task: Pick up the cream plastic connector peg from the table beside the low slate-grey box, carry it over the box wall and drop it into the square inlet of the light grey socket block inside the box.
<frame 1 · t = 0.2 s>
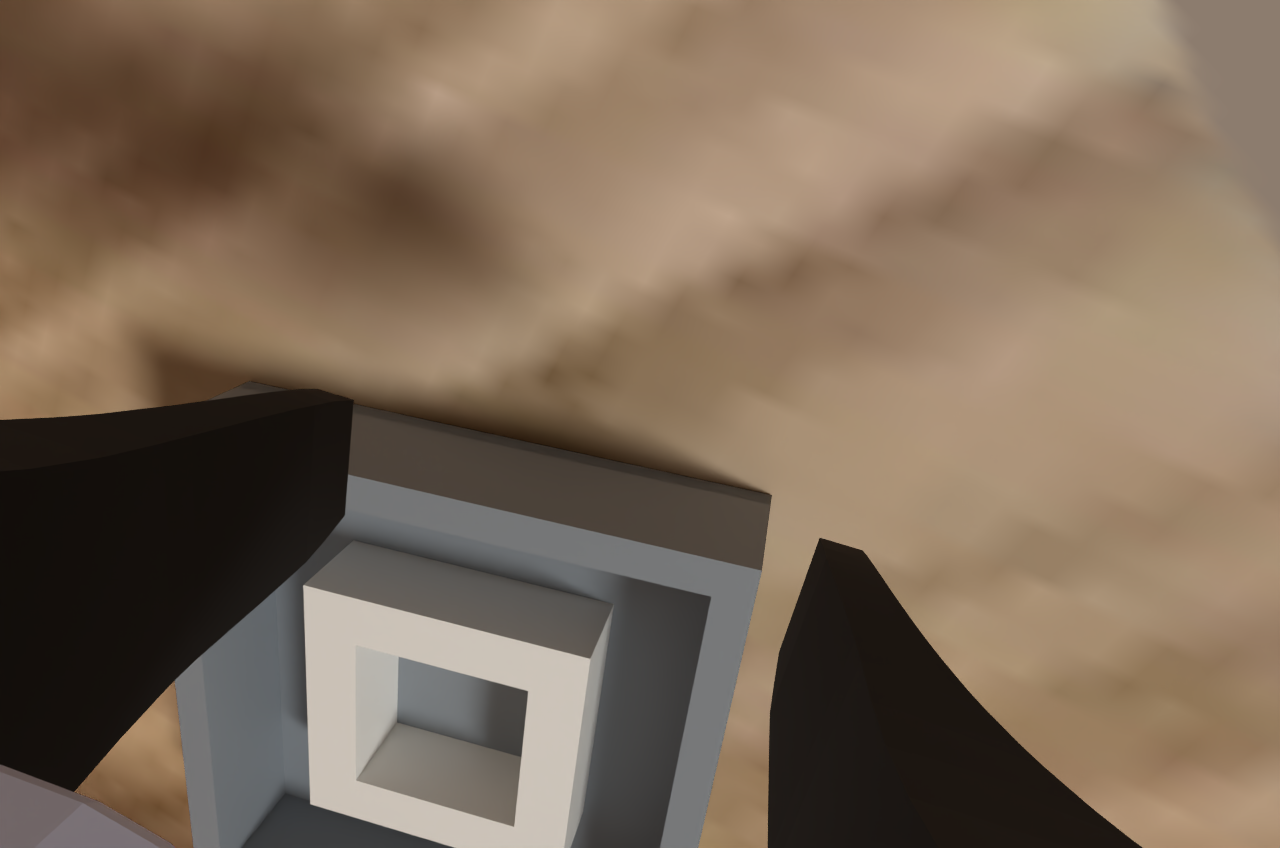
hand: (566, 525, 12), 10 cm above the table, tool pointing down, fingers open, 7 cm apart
walled box: (480, 669, 26), on the table
inlet socket: (455, 708, 24), in the walled box, point 1 cm above the table
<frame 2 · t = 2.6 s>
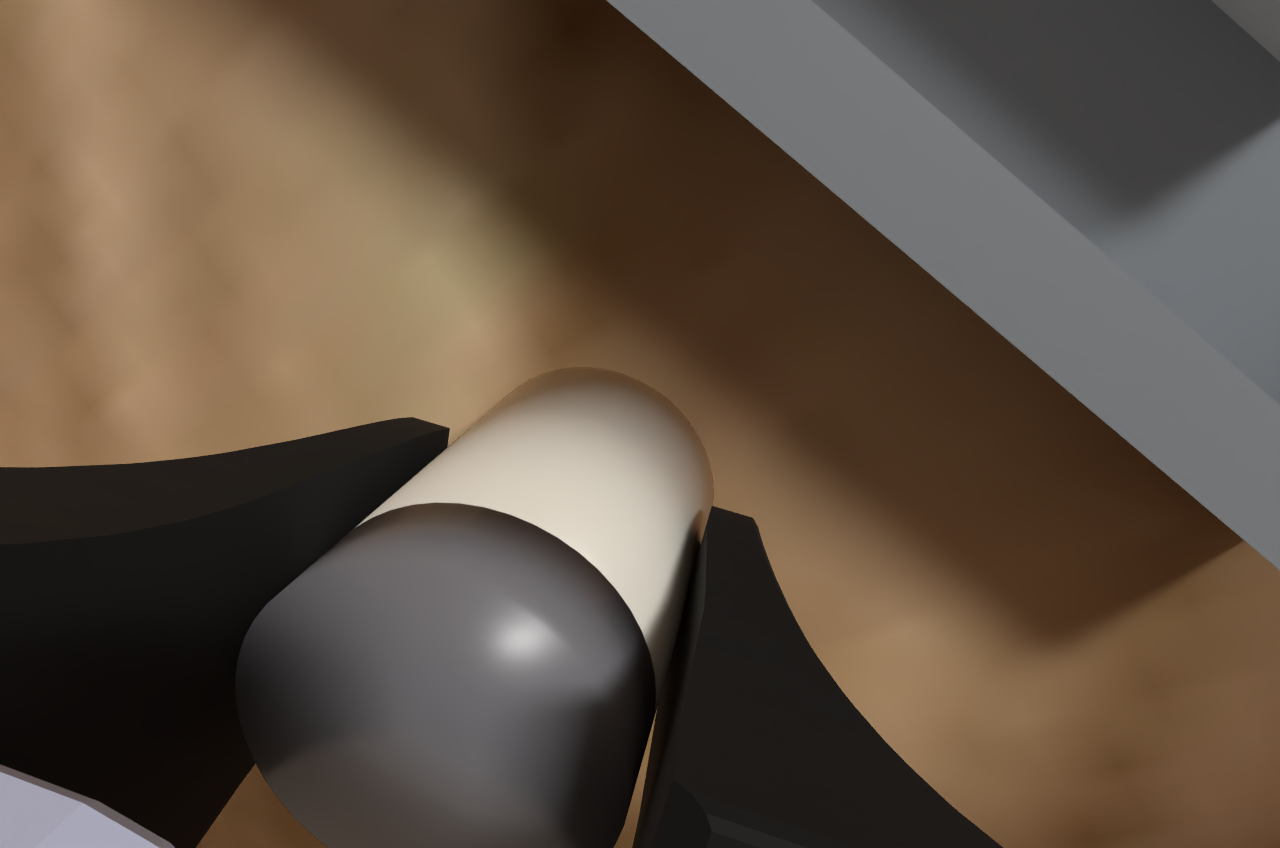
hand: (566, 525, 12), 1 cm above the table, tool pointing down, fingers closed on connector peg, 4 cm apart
connector peg: (592, 484, 13), on the table, touching gripper
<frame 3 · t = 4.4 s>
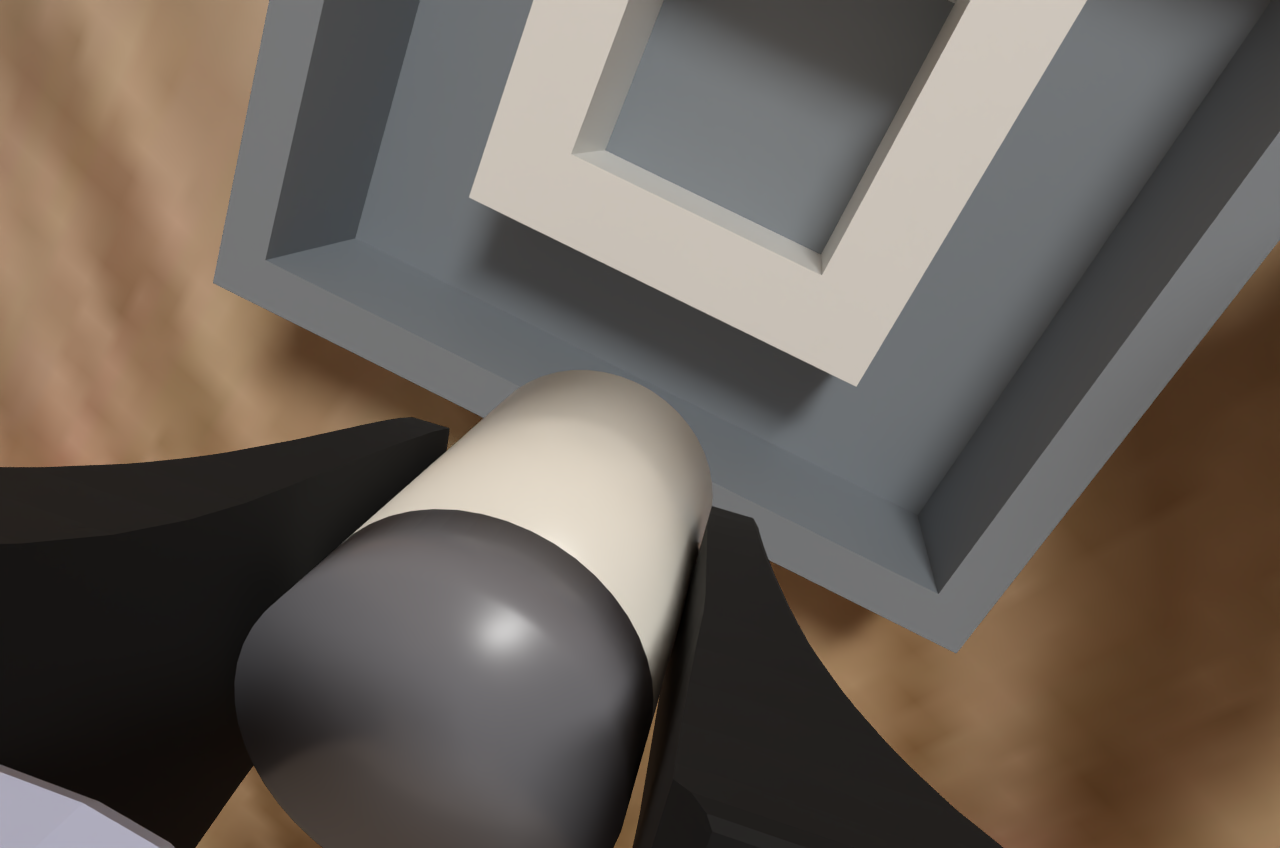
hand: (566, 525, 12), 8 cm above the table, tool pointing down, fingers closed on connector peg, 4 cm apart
walled box: (769, 83, 17), on the table
inlet socket: (763, 78, 15), in the walled box, point 1 cm above the table
connector peg: (591, 486, 13), point 7 cm above the table, touching gripper
when the fingers open (4 cm above the table, at t = 6.4 s): connector peg drops 2 cm, resting on walled box.
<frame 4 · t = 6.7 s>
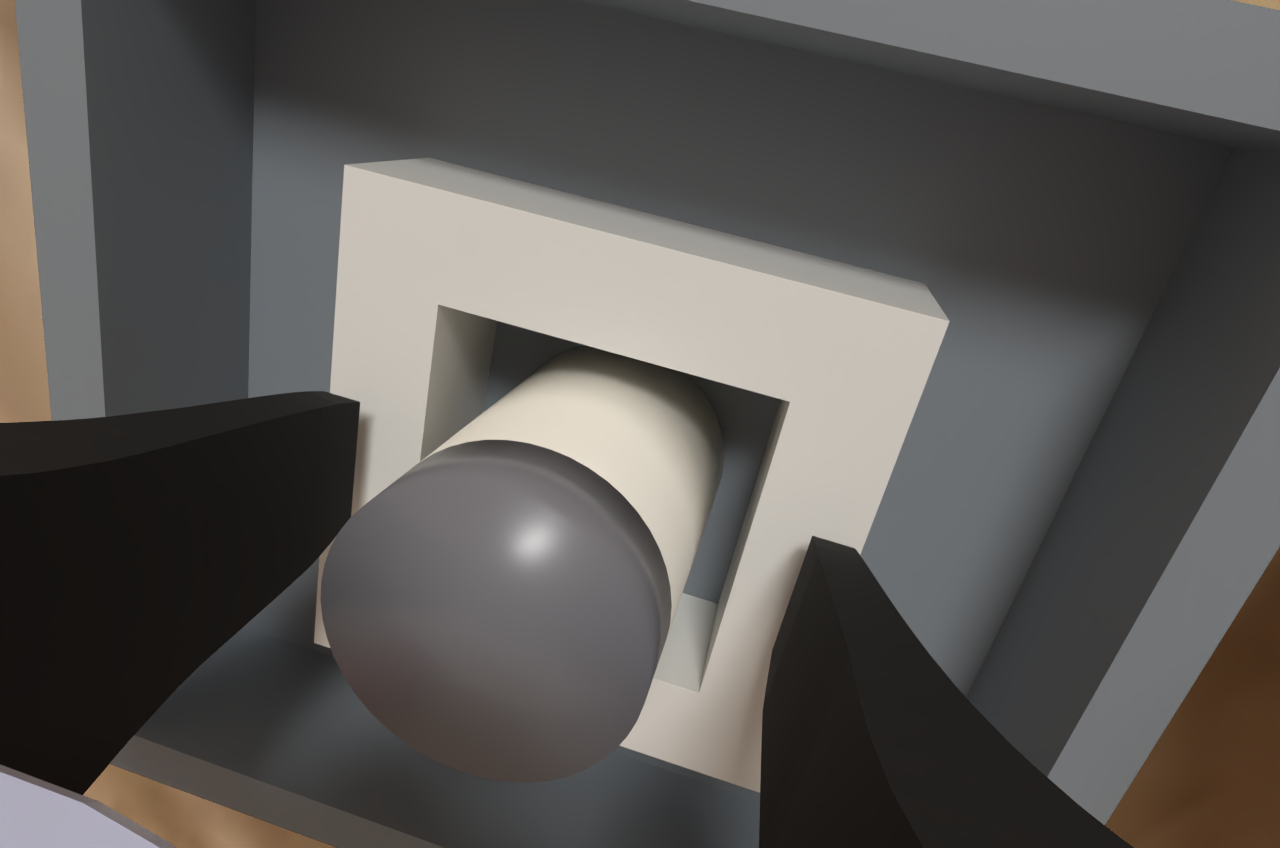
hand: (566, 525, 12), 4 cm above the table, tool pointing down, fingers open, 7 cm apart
walled box: (623, 435, 15), on the table
inlet socket: (598, 475, 13), in the walled box, point 1 cm above the table
connector peg: (615, 449, 14), point 1 cm above the table, touching walled box
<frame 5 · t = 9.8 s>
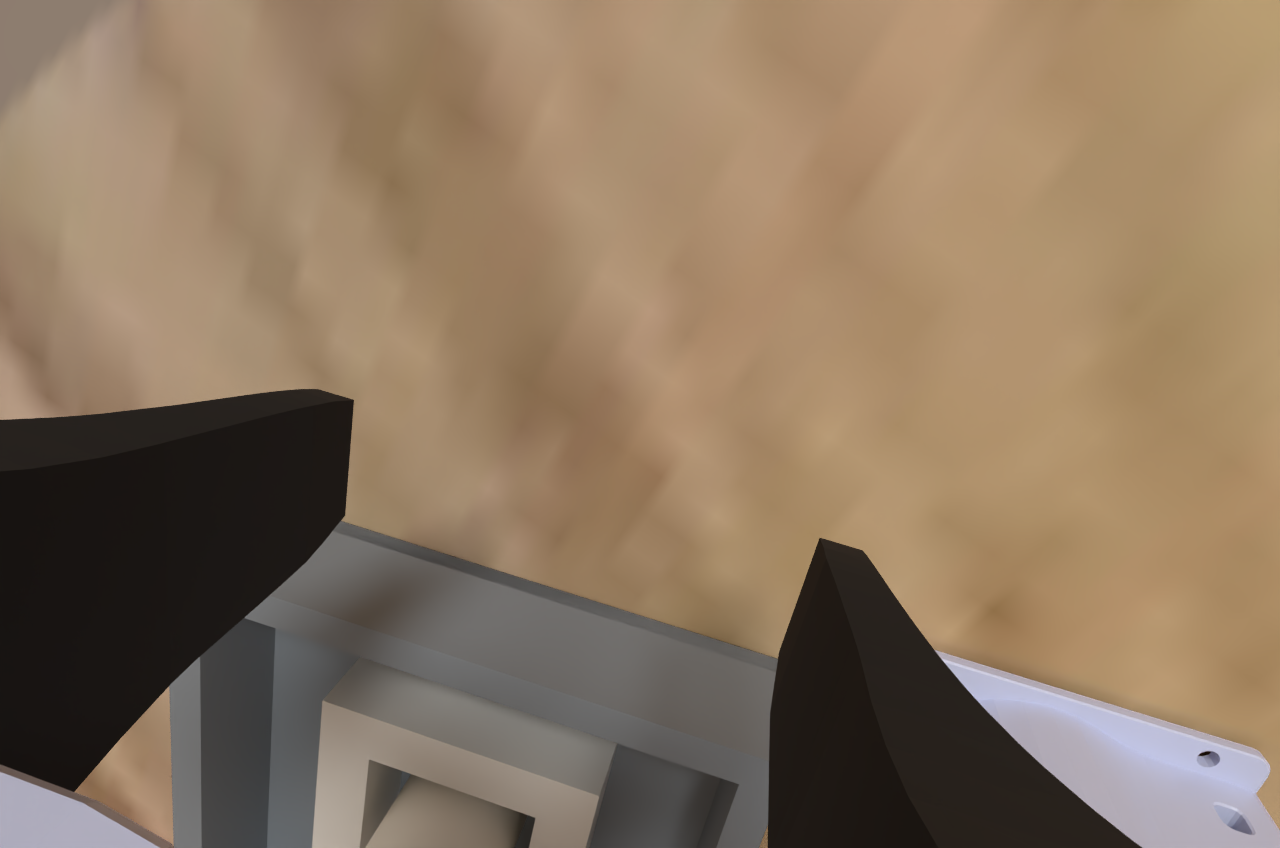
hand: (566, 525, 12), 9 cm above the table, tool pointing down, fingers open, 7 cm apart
walled box: (482, 770, 27), on the table
inlet socket: (459, 815, 25), in the walled box, point 1 cm above the table
connector peg: (475, 785, 26), point 1 cm above the table, touching walled box
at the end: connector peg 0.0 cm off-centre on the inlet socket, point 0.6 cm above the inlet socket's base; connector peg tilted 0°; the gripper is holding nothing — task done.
